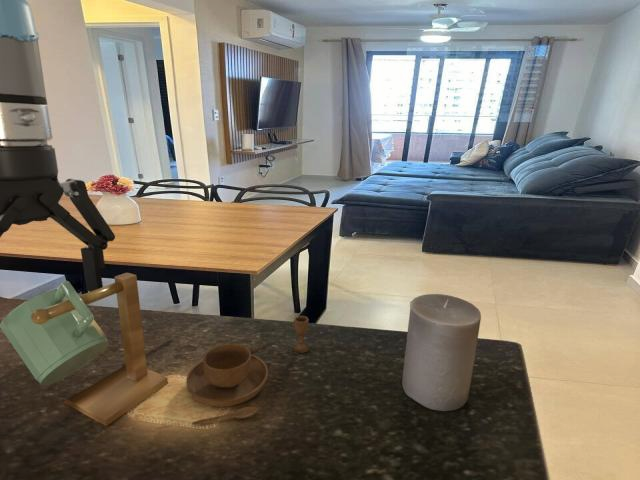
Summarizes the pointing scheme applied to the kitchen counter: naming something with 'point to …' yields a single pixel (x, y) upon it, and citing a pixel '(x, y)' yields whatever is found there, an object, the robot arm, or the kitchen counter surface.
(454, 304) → the pillar candle
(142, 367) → the mug stand
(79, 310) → the mug
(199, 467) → the kitchen counter surface
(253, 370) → the place setting
